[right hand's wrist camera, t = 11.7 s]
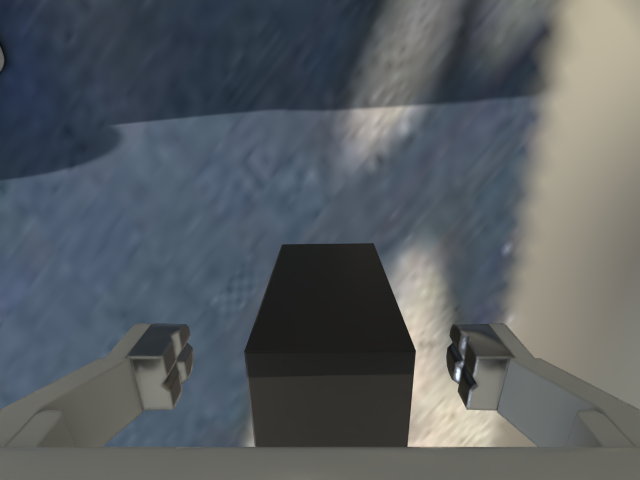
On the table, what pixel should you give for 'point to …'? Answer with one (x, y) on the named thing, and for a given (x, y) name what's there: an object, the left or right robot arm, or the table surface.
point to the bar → (329, 352)
